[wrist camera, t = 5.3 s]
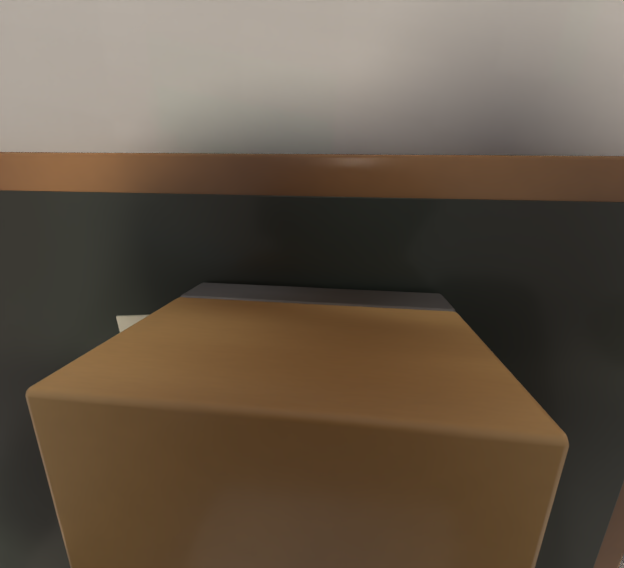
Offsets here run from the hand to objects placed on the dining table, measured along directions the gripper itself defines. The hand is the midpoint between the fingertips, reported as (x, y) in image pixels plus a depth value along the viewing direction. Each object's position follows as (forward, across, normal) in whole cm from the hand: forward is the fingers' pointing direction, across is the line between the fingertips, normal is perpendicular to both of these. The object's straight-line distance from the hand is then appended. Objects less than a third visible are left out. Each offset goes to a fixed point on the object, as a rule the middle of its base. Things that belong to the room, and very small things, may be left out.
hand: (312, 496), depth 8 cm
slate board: (+2, +2, -1) cm, 3 cm away
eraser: (0, 0, 0) cm, 0 cm away
